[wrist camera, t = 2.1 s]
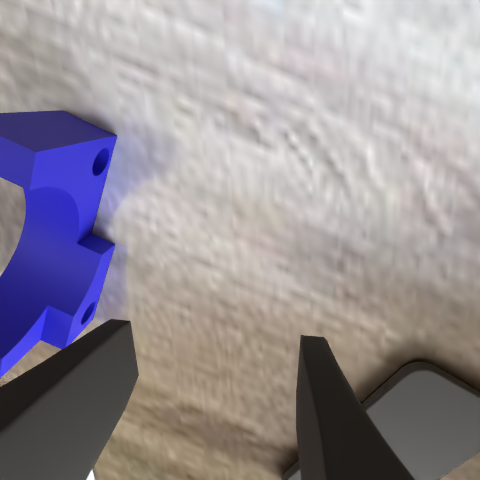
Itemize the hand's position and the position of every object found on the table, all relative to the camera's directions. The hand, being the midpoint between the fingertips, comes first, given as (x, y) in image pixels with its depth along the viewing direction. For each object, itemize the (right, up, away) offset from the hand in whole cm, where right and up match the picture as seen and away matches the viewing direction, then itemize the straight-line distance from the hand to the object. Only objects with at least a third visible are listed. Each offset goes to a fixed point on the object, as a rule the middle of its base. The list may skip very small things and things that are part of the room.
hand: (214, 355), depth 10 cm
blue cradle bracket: (-9, +4, +10) cm, 14 cm away
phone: (+10, -11, +13) cm, 20 cm away
